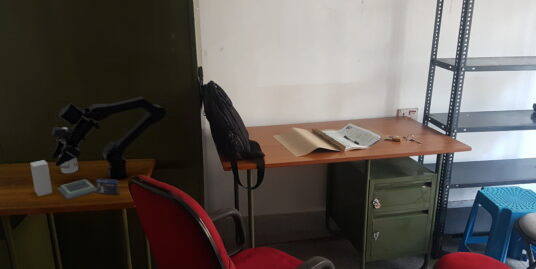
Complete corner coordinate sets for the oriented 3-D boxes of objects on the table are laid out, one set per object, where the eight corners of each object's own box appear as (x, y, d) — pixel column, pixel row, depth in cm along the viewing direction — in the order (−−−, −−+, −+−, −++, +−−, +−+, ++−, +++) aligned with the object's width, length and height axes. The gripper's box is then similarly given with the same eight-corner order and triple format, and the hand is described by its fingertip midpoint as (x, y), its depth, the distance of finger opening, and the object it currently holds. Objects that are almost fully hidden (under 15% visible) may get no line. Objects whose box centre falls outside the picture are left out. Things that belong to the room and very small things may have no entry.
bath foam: (74, 166, 197) (69, 124, 191) (80, 171, 192) (74, 128, 186) (59, 170, 192) (52, 128, 186) (64, 175, 188) (58, 131, 181)
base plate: (87, 181, 181) (87, 177, 181) (98, 191, 173) (98, 186, 172) (57, 189, 174) (57, 185, 173) (67, 200, 165) (66, 195, 165)
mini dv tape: (97, 193, 171) (96, 179, 169) (100, 192, 172) (98, 178, 170) (117, 195, 170) (115, 181, 168) (119, 193, 171) (117, 180, 169)
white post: (48, 188, 175) (44, 159, 171) (52, 192, 171) (47, 163, 167) (35, 192, 172) (30, 162, 168) (38, 196, 168) (33, 166, 164)
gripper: (59, 113, 175) (33, 144, 173) (67, 125, 161) (38, 158, 158) (82, 129, 182) (57, 158, 180) (92, 141, 167) (64, 173, 165)
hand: (54, 161), depth 170 cm, fingers open, 9 cm apart
